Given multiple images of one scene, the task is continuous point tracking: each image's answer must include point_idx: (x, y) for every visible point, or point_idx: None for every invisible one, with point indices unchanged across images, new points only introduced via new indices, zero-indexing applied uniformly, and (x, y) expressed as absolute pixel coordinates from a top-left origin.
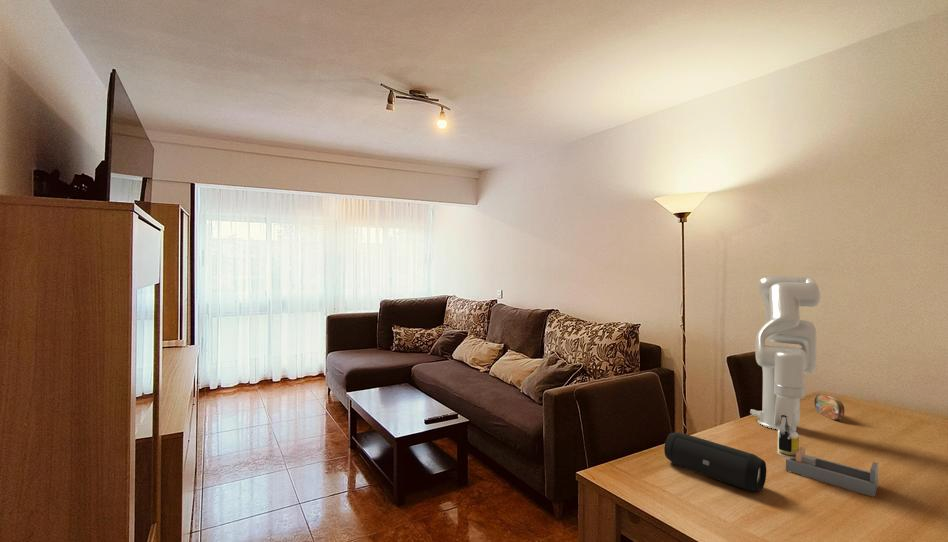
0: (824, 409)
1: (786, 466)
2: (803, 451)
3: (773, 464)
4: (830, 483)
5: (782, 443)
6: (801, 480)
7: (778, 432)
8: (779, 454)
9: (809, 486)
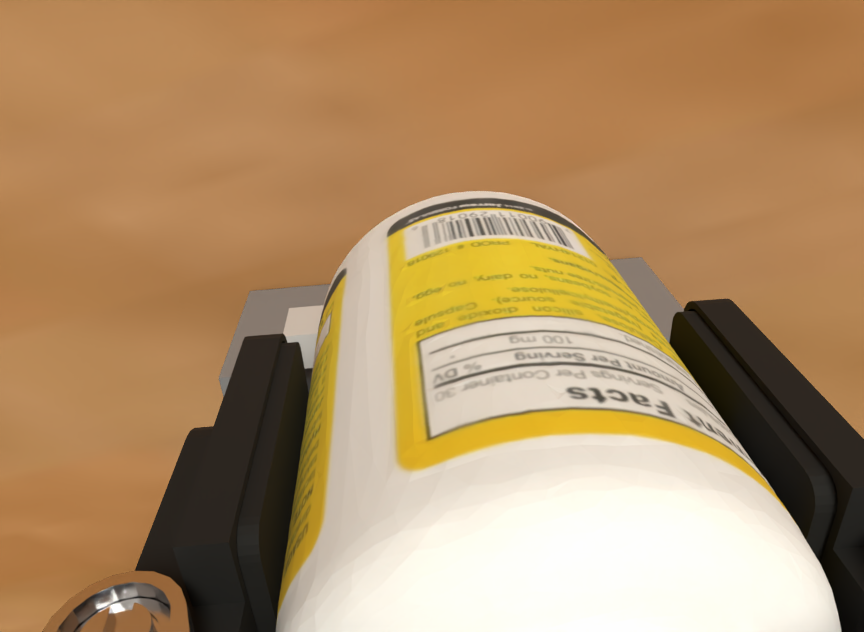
0: None
1: (240, 327)
2: None
3: (330, 116)
4: None
5: (167, 511)
6: (142, 459)
7: (380, 535)
8: (353, 251)
9: (70, 533)
